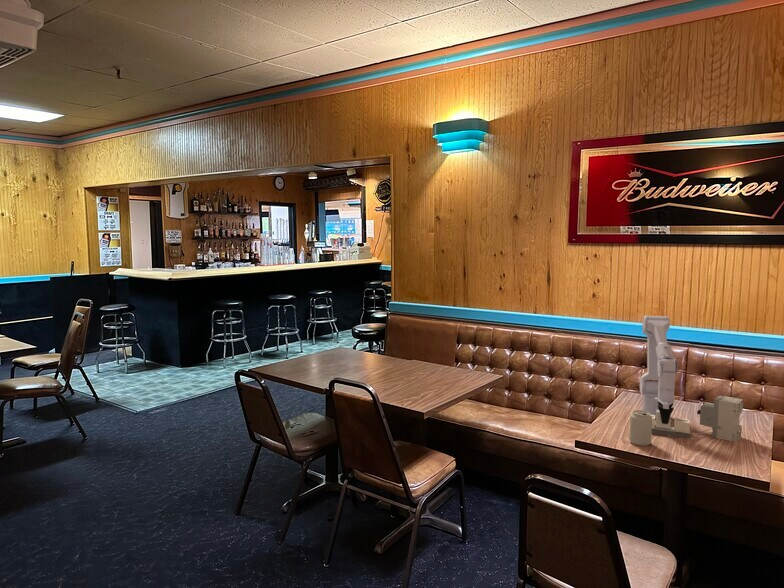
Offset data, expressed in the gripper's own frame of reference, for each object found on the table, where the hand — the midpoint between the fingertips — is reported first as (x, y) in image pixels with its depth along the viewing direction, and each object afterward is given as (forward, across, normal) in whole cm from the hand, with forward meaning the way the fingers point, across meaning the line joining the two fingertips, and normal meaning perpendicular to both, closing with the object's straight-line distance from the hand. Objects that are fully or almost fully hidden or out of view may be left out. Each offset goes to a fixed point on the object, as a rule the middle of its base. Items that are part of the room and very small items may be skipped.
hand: (664, 421), depth 210 cm
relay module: (+2, 0, 0) cm, 2 cm away
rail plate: (+4, 0, 0) cm, 4 cm away
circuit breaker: (+4, -5, +19) cm, 20 cm away
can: (+4, +18, -8) cm, 20 cm away
